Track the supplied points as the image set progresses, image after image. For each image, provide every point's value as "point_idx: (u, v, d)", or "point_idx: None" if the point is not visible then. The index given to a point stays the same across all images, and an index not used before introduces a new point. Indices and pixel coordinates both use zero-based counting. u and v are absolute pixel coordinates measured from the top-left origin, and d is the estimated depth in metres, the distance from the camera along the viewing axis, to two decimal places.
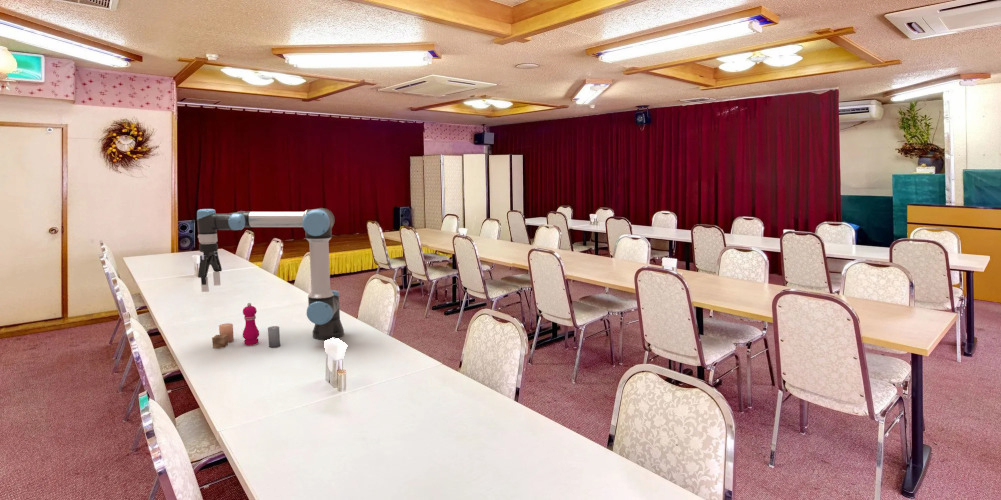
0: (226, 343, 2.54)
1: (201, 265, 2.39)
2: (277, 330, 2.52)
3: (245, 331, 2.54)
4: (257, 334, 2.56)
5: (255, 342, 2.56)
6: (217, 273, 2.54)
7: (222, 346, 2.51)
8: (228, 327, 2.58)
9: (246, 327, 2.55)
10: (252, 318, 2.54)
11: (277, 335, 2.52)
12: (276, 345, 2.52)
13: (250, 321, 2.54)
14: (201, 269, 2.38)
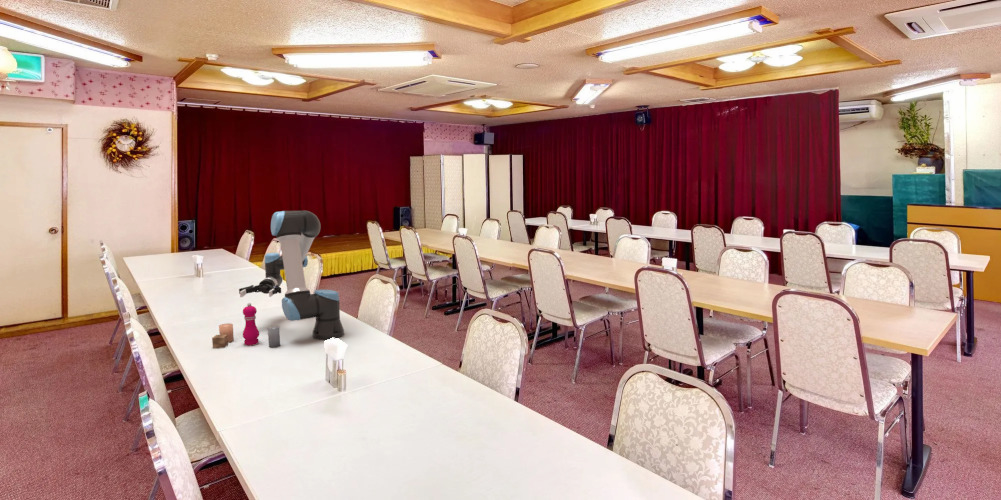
0: (226, 343, 2.54)
1: None
2: (277, 330, 2.52)
3: (245, 331, 2.54)
4: (257, 334, 2.56)
5: (255, 342, 2.56)
6: None
7: (222, 346, 2.51)
8: (228, 327, 2.58)
9: (246, 327, 2.55)
10: (252, 318, 2.54)
11: (277, 335, 2.52)
12: (276, 345, 2.52)
13: (250, 321, 2.54)
14: None
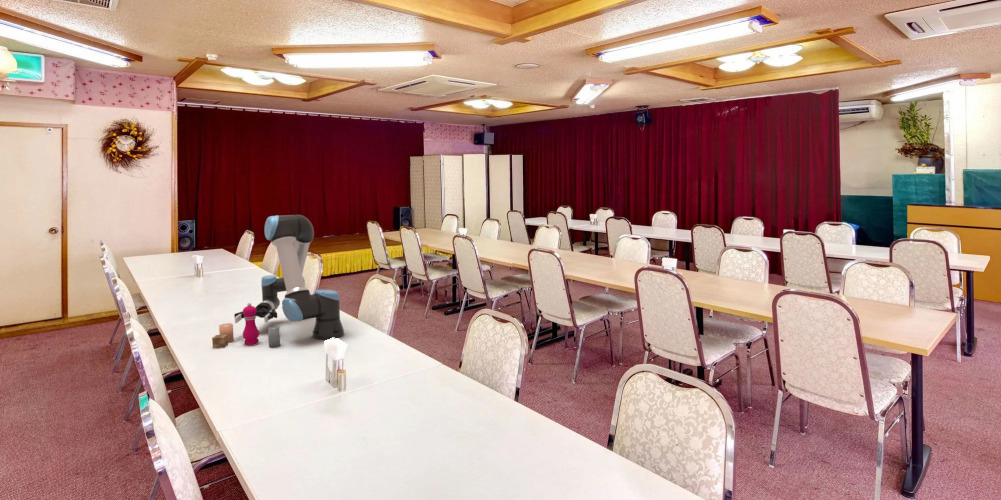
0: (226, 343, 2.54)
1: None
2: (277, 330, 2.52)
3: (245, 331, 2.54)
4: (257, 334, 2.56)
5: (255, 342, 2.56)
6: None
7: (222, 346, 2.51)
8: (228, 327, 2.58)
9: (246, 327, 2.55)
10: (252, 318, 2.54)
11: (277, 335, 2.52)
12: (276, 345, 2.52)
13: (250, 321, 2.54)
14: None
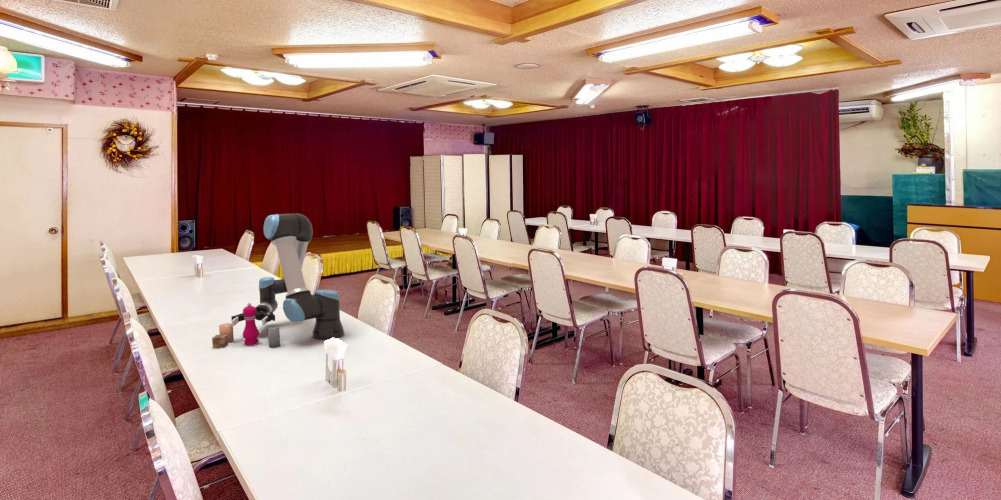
0: (226, 343, 2.54)
1: None
2: (277, 330, 2.52)
3: (245, 331, 2.54)
4: (257, 334, 2.56)
5: (255, 342, 2.56)
6: None
7: (222, 346, 2.51)
8: (228, 327, 2.58)
9: (246, 327, 2.55)
10: (252, 318, 2.54)
11: (277, 335, 2.52)
12: (276, 345, 2.52)
13: (250, 321, 2.54)
14: None
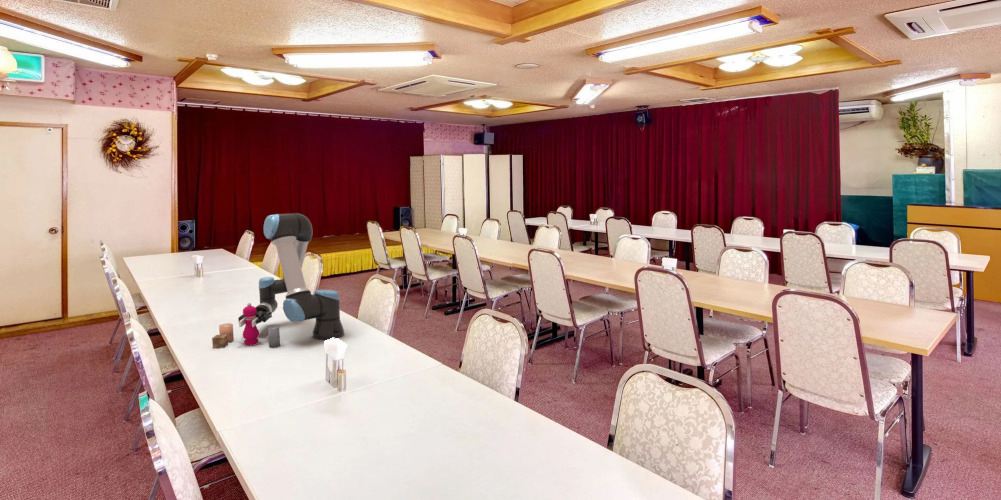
0: (226, 343, 2.54)
1: None
2: (277, 330, 2.52)
3: (245, 331, 2.54)
4: (257, 334, 2.56)
5: (255, 342, 2.56)
6: None
7: (222, 346, 2.51)
8: (228, 327, 2.58)
9: (246, 327, 2.55)
10: (252, 318, 2.54)
11: (277, 335, 2.52)
12: (276, 345, 2.52)
13: (250, 321, 2.54)
14: None
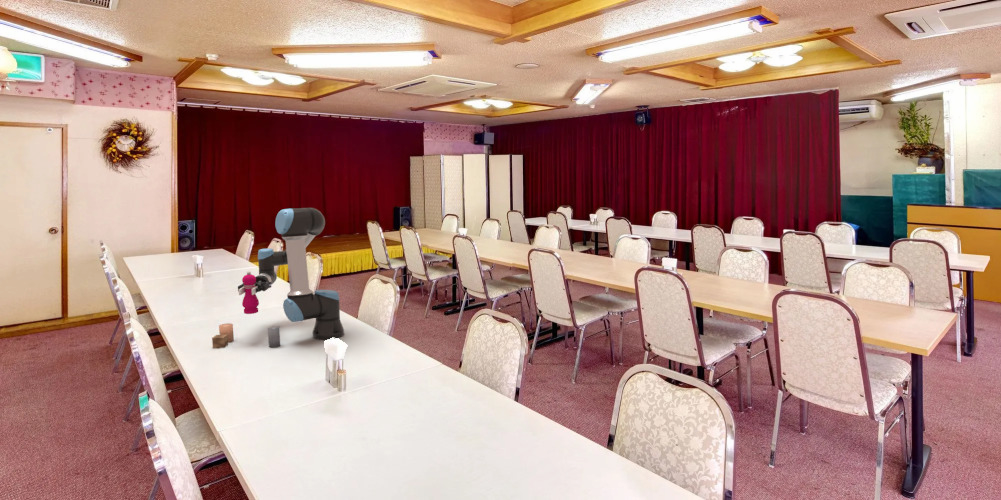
0: (226, 343, 2.54)
1: None
2: (277, 330, 2.52)
3: (245, 299, 2.53)
4: (257, 303, 2.55)
5: (255, 311, 2.55)
6: None
7: (222, 346, 2.51)
8: (228, 327, 2.58)
9: (246, 295, 2.53)
10: (252, 286, 2.53)
11: (277, 335, 2.52)
12: (276, 345, 2.52)
13: (250, 289, 2.53)
14: None
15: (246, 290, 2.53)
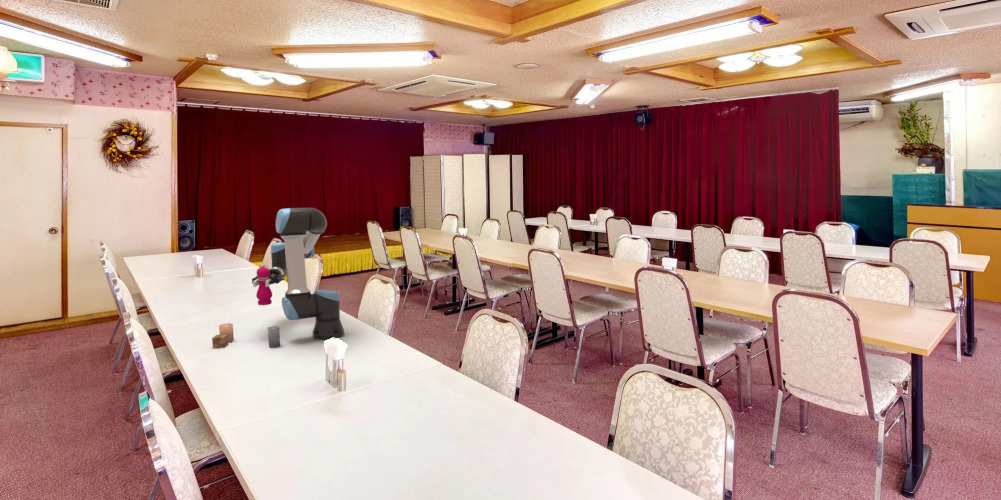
0: (226, 343, 2.54)
1: None
2: (277, 330, 2.52)
3: (259, 291, 2.62)
4: (270, 295, 2.64)
5: (268, 302, 2.64)
6: None
7: (222, 346, 2.51)
8: (228, 327, 2.58)
9: (260, 287, 2.62)
10: (265, 279, 2.62)
11: (277, 335, 2.52)
12: (276, 345, 2.52)
13: (263, 282, 2.62)
14: None
15: (260, 282, 2.62)
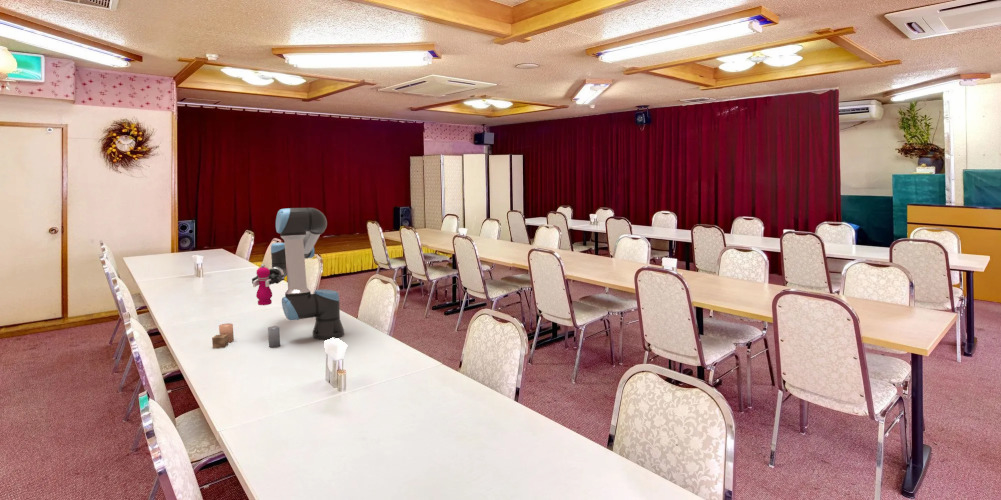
0: (226, 343, 2.54)
1: None
2: (277, 330, 2.52)
3: (259, 291, 2.62)
4: (270, 295, 2.64)
5: (268, 302, 2.64)
6: None
7: (222, 346, 2.51)
8: (228, 327, 2.58)
9: (260, 287, 2.62)
10: (265, 279, 2.62)
11: (277, 335, 2.52)
12: (276, 345, 2.52)
13: (263, 282, 2.62)
14: None
15: (260, 282, 2.62)
